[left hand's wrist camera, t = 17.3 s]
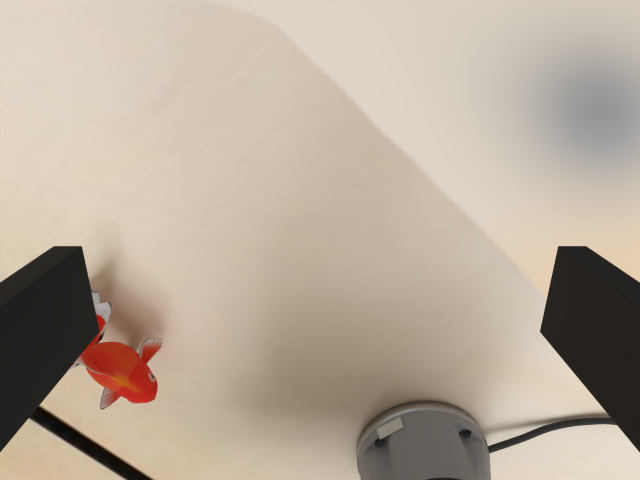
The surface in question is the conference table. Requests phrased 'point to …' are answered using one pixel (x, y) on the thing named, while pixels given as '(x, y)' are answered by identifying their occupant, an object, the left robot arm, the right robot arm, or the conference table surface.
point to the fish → (119, 364)
